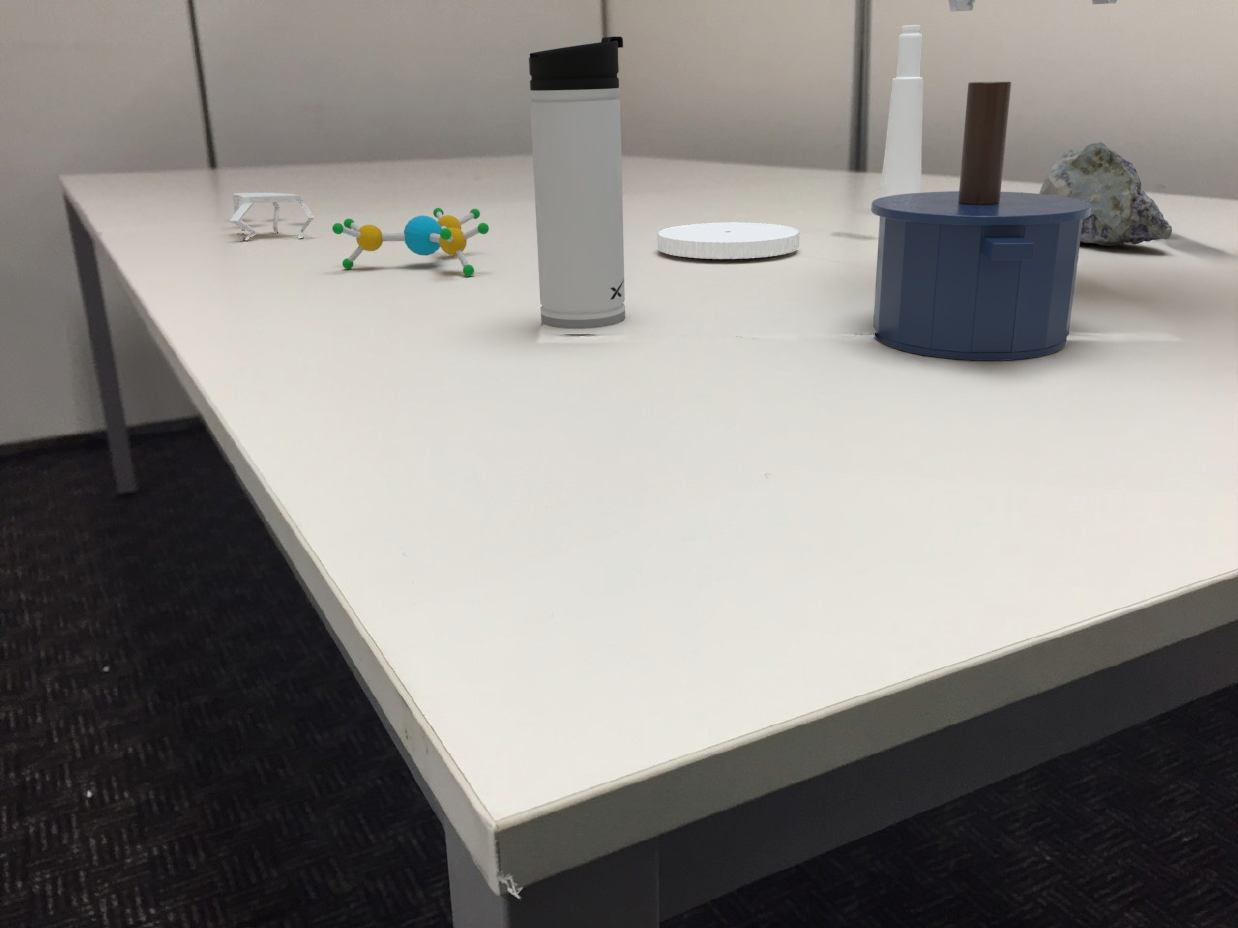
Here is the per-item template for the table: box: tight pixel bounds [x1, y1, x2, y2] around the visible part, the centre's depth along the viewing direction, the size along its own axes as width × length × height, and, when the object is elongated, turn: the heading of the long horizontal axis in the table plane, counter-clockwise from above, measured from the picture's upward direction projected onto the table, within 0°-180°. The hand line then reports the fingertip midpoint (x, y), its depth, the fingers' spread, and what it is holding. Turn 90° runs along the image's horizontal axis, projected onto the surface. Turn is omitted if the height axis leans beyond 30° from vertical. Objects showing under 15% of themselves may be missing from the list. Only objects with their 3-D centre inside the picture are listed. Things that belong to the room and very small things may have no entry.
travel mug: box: [528, 36, 626, 336], centre depth 76 cm, size 6×7×20 cm
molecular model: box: [332, 207, 490, 277], centre depth 105 cm, size 16×5×15 cm
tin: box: [872, 216, 1083, 361], centre depth 72 cm, size 13×18×8 cm
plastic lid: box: [656, 221, 800, 260], centre depth 107 cm, size 14×14×2 cm
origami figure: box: [229, 192, 315, 239], centre depth 127 cm, size 12×8×5 cm
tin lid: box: [870, 81, 1092, 226], centre depth 70 cm, size 14×14×9 cm
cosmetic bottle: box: [877, 24, 924, 199], centre depth 131 cm, size 6×6×22 cm
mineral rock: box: [1038, 141, 1173, 247], centre depth 107 cm, size 13×11×10 cm
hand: (1029, 0), depth 73 cm, fingers open, 8 cm apart
